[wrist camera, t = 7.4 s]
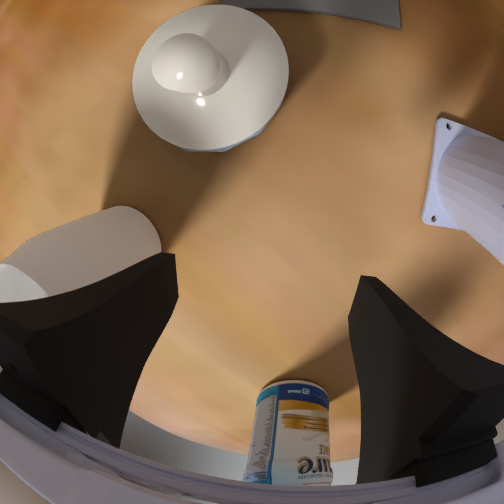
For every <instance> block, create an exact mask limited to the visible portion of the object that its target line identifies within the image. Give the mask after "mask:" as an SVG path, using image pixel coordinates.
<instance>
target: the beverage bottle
mask: <svg viewBox="0 0 504 504" xmlns="http://www.w3.org/2000/svg"><path fill="white" fill-rule="evenodd" d="M332 479H333V471H332V468H331V467H330V441H329V397H328V394H327V393H326V391H325V390H324V389H323V388H322V387H320V386H319V385H317V384H314V383H312V382H308V381H302V380H285V381H280V382H276V383H273V384H271V385H269V386H267V387H265V388H264V389H263V390H262V391H261V392H260V393H259V395H258V398H257V404H256V413H255V420H254V426H253V432H252V438H251V444H250V449H249V455H248V461H247V466H246V469H245V470H244V475H243V482H251V483H260V484H271V485H286V486H330V485H331V483H332Z"/></svg>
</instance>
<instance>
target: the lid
mask: <svg viewBox="0 0 504 504" xmlns="http://www.w3.org/2000/svg"><path fill="white" fill-rule="evenodd" d="M288 79H289V65H288V57H287V54H286V50H285V47H284V45H283V43H282V41H281V39H280V37H279V36H278V34H277V33H276V31H275V30H274V29H273V28H272V27H271V26H270V25H269V24H268V23H267V22H266V21H265V20H264V19H262V18H261V17H259V16H258V15H256V14H254V13H252V12H250V11H248V10H245V9H243V8H239V7H235V6H230V5H205V6H199V7H195V8H191V9H189V10H186V11H183V12H181V13H179V14H177V15H175V16H173V17H172V18H170V19H169V20H167V21H166V22H164V23H163V24H162V25H161V26H160V27H158V28H157V29H156V30H155V31H154V32H153V34H152V35H151V36H150V37H149V38H148V40H147V41H146V42H145V44H144V46H143V47H142V49H141V51H140V53H139V55H138V58H137V60H136V64H135V67H134V72H133V81H132V88H133V96H134V100H135V104H136V107H137V109H138V112H139V114H140V116H141V117H142V119H143V121H144V122H145V123H146V124H147V126H148V127H149V128H150V129H151V130H152V131H153V132H154V133H155V134H156V135H158V136H159V137H161V138H162V139H164V140H165V141H167V142H169V143H171V144H174V145H176V146H179V147H183V148H187V149H194V150H212V149H219V148H223V147H227V146H230V145H233V144H235V143H238V142H240V141H242V140H244V139H246V138H248V137H250V136H251V135H253V134H254V133H256V132H257V131H259V130H260V129H261V128H262V127H263V126H264V125H265V124H266V123H267V122H268V121H269V120H270V119H271V118H272V117H273V116H274V114H275V112H276V111H277V109H278V108H279V106H280V104H281V102H282V100H283V98H284V95H285V92H286V89H287V84H288Z"/></svg>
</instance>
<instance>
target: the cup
mask: <svg viewBox="0 0 504 504" xmlns="http://www.w3.org/2000/svg"><path fill="white" fill-rule="evenodd" d="M160 252H161V242H160V238H159V235H158V233H157V231H156V229H155V227H154V226H153V224H152V223H151V222H150V220H149V219H148V218H147V217H146V216H145V215H143V214H142V213H141V212H139V211H138V210H136V209H134V208H131V207H128V206H115V207H111V208H108V209H105V210H102V211H100V212H97V213H94V214H91V215H88V216H85V217H83V218H80V219H77V220H74V221H72V222H69V223H66V224H64V225H61V226H59V227H56V228H54V229H51V230H49V231H46V232H44V233H41V234H39V235H37V236H34V237H33V238H31V239H29V240H27V241H26V242H25V243H24V244H23V245H21V246H20V247H19V248H18V249H17V250H16V251H14V252H13V253H12V254H11V255H10V256H8V257H7V258H6V259H5V260H3V261H2V262H1V263H0V303H6V302H18V301H28V300H34V299H40V298H45V297H50V296H54V295H58V294H61V293H65V292H68V291H72V290H75V289H78V288H81V287H84V286H87V285H90V284H92V283H95V282H97V281H100V280H102V279H104V278H106V277H108V276H111V275H113V274H115V273H117V272H119V271H122V270H124V269H126V268H128V267H130V266H132V265H134V264H136V263H138V262H140V261H142V260H144V259H146V258H148V257H150V256H152V255H155V254H157V253H160Z"/></svg>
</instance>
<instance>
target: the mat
mask: <svg viewBox="0 0 504 504" xmlns="http://www.w3.org/2000/svg"><path fill="white" fill-rule="evenodd" d="M222 5H230V6H235V7H239V8H243V9H245V10H284V11H300V12H311V13H320V14H327V15H334V16H341V17H346V18H352V19H357V20H362V21H366V22H371V23H375V24H379V25H383V26H387V27H391V28H394V29H398V30H399V29H401V25H400V12H399V1H398V0H223V3H222Z"/></svg>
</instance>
